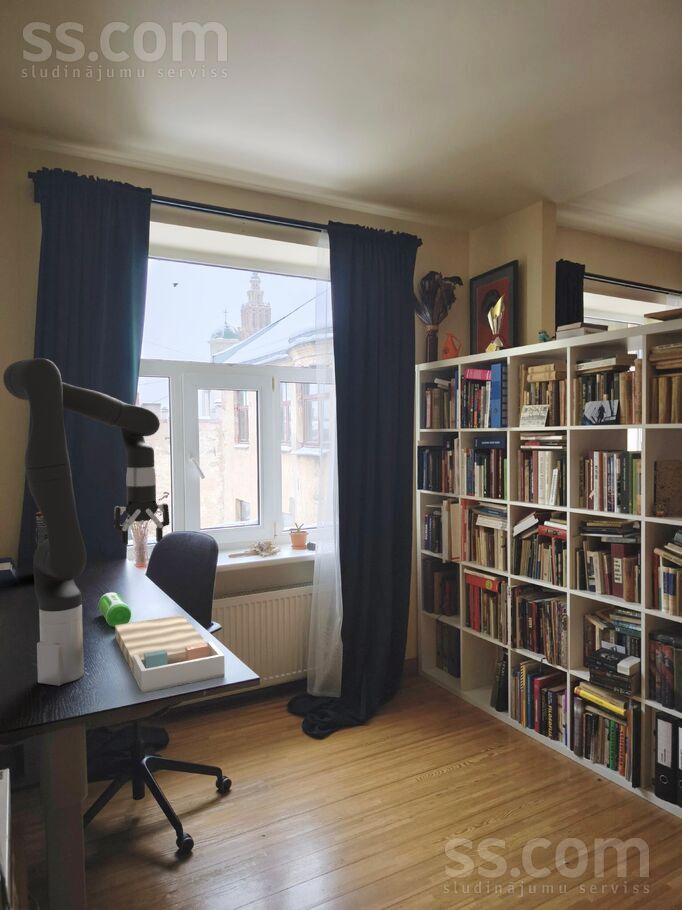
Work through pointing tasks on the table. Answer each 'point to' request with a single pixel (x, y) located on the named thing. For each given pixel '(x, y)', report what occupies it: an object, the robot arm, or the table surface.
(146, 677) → the box
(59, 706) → the table surface
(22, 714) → the table surface
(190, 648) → the terracotta tile
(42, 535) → the graphics card box
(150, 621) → the wooden tray board
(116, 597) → the speaker
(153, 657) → the teal tile
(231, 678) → the table surface
